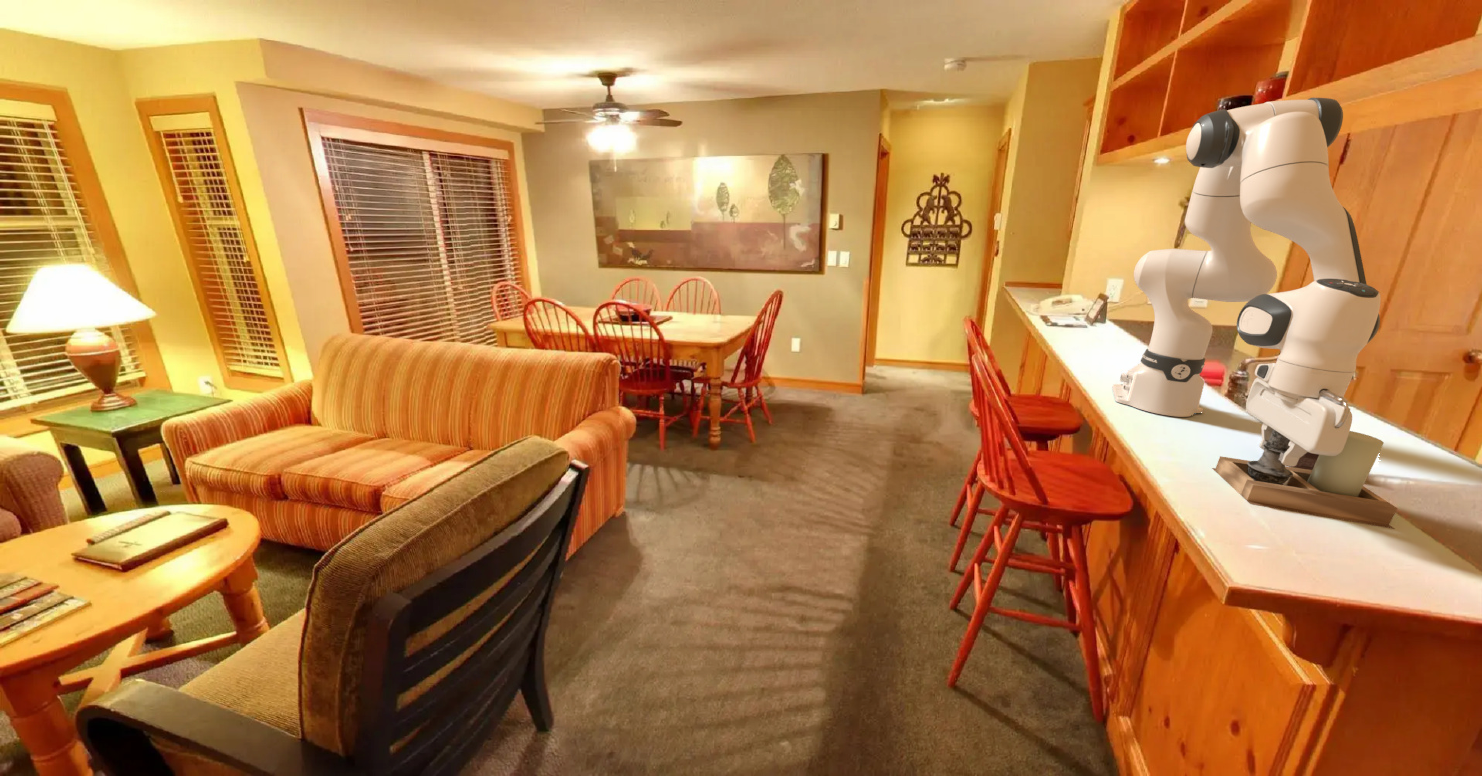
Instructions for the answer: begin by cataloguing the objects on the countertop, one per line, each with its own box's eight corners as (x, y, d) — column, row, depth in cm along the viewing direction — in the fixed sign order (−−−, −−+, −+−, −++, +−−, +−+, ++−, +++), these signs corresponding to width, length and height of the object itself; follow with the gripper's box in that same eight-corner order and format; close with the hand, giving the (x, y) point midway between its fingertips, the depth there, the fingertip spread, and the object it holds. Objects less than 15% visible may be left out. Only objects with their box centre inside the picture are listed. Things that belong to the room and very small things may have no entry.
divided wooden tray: (1210, 472, 102) (1217, 453, 100) (1332, 492, 96) (1341, 472, 95) (1248, 509, 89) (1257, 488, 88) (1392, 534, 84) (1403, 512, 82)
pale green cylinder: (1294, 488, 95) (1321, 426, 91) (1337, 495, 93) (1366, 432, 89) (1315, 505, 89) (1345, 440, 85) (1361, 513, 87) (1394, 447, 83)
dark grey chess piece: (1294, 497, 91) (1322, 432, 87) (1255, 492, 92) (1280, 428, 88) (1269, 480, 96) (1294, 419, 92) (1232, 476, 97) (1255, 415, 93)
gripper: (1380, 404, 77) (1340, 489, 81) (1295, 367, 95) (1266, 437, 100) (1324, 398, 79) (1289, 481, 83) (1251, 362, 97) (1225, 432, 102)
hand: (1276, 457), depth 92 cm, fingers open, 4 cm apart
